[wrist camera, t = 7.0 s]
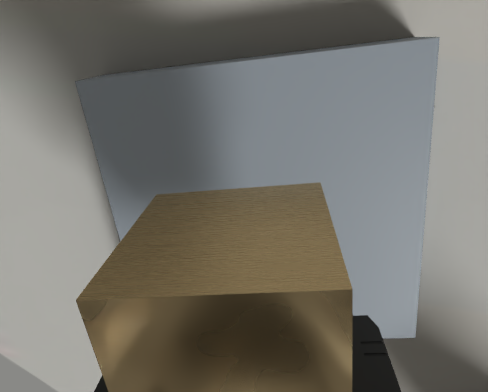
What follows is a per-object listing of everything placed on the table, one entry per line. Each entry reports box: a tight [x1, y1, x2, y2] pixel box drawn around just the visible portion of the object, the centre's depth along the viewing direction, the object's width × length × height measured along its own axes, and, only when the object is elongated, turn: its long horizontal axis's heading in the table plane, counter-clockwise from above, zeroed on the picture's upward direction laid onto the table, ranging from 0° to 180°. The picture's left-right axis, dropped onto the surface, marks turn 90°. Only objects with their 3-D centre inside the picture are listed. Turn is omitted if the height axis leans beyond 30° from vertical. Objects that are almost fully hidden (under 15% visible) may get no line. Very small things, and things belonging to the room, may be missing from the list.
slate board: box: [75, 37, 440, 339], centre depth 21 cm, size 16×16×3 cm
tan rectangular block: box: [76, 182, 353, 392], centre depth 11 cm, size 5×9×5 cm, turn 6°
